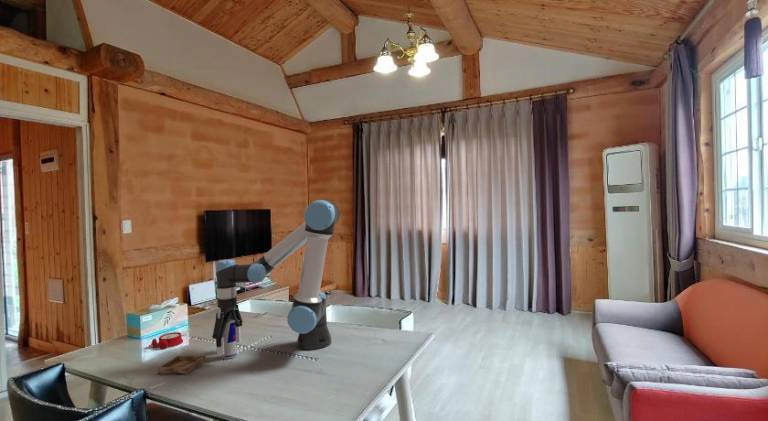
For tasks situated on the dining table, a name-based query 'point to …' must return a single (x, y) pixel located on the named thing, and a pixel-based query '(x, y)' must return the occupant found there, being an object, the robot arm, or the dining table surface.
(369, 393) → the dining table surface
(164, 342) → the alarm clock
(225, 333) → the beverage can
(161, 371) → the tray
